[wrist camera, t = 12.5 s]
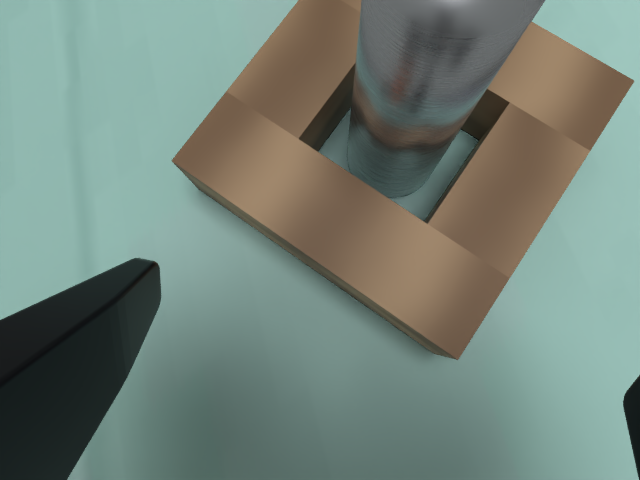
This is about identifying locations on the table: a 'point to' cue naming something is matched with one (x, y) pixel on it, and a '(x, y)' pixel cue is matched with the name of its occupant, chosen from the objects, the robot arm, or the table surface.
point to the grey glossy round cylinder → (423, 81)
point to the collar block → (376, 209)
